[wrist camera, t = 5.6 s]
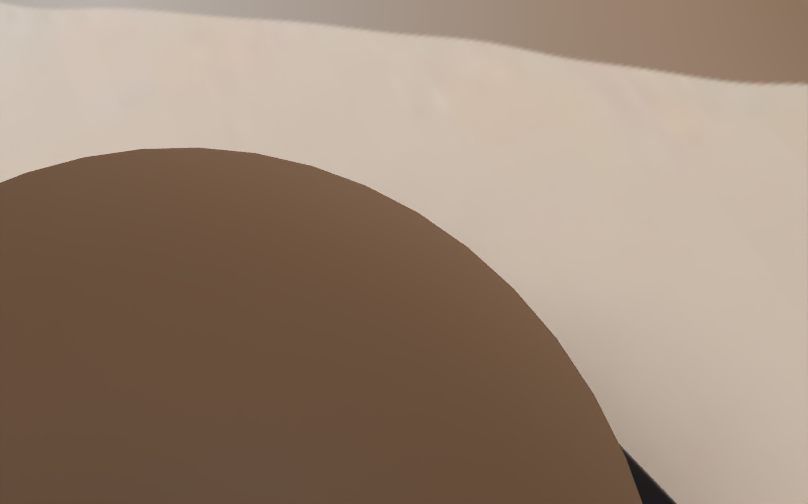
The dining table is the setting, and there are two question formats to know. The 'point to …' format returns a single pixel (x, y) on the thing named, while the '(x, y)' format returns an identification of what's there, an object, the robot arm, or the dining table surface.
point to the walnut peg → (272, 347)
